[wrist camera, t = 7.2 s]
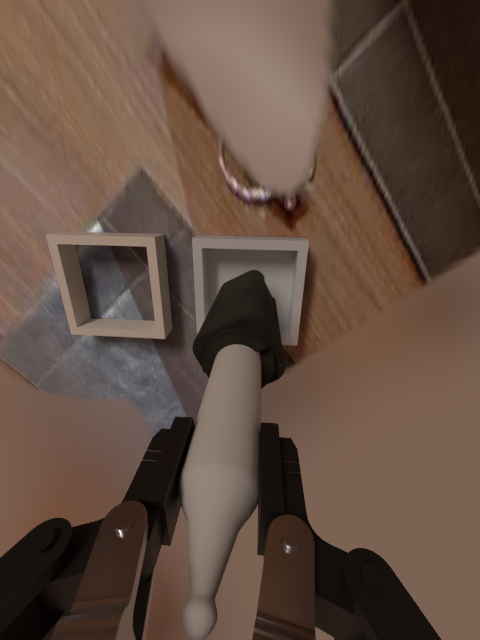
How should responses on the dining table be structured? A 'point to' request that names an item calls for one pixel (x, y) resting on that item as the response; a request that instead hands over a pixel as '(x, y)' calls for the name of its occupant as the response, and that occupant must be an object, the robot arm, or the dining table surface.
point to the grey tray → (252, 254)
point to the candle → (226, 435)
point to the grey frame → (75, 293)
